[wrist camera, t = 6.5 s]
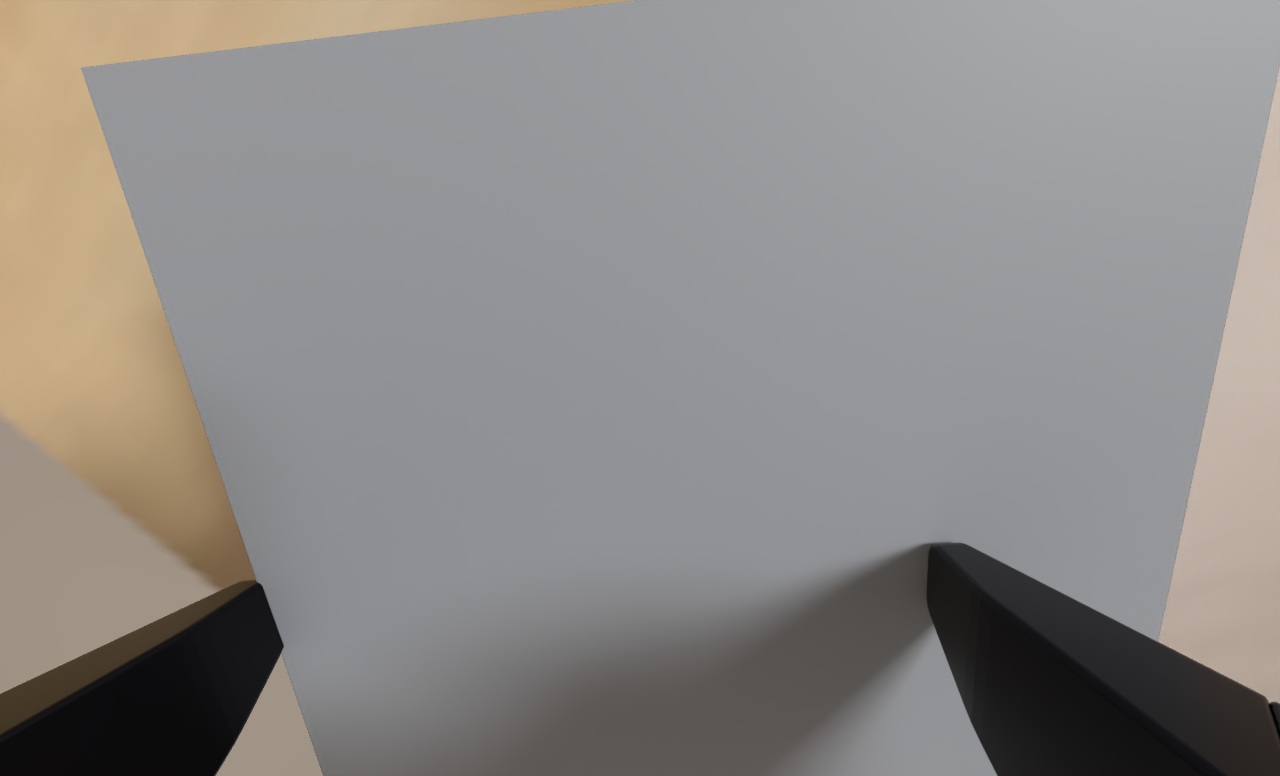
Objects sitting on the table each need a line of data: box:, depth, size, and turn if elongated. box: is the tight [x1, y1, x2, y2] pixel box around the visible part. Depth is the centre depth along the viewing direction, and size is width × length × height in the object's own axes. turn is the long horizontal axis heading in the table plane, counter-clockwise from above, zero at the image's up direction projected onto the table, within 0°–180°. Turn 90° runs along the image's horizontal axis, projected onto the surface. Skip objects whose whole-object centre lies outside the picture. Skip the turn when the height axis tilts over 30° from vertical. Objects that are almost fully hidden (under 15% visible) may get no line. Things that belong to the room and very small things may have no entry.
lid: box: [81, 0, 1280, 776], centre depth 9 cm, size 12×14×1 cm
